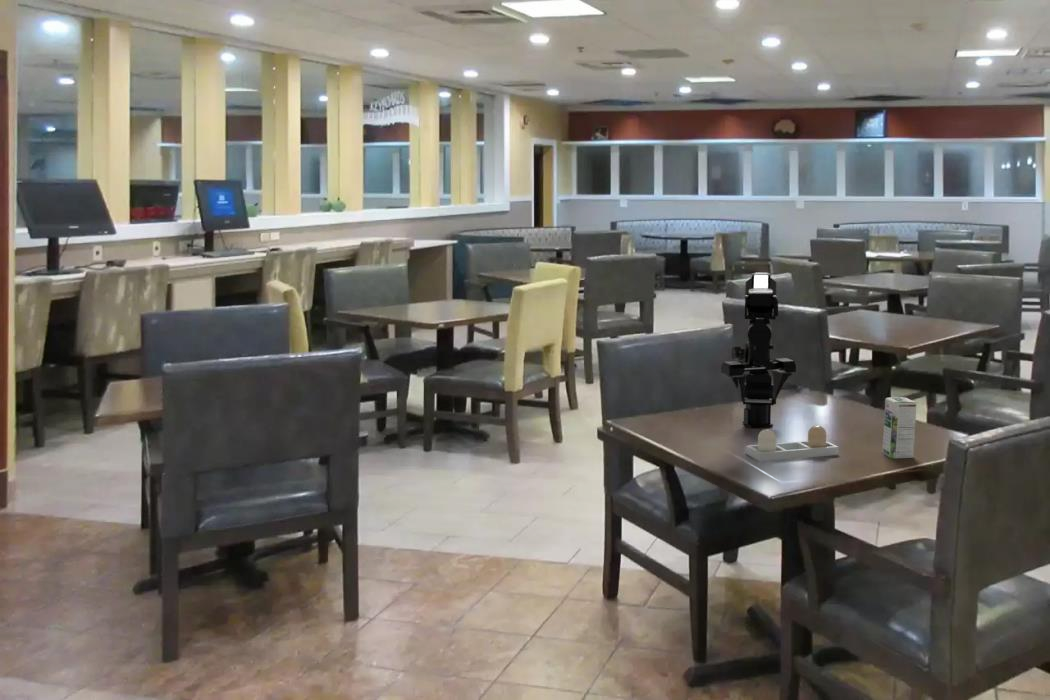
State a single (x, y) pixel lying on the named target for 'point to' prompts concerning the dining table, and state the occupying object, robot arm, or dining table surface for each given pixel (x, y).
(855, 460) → the dining table surface
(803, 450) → the divided compartment tray
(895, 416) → the syrup box
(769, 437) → the white capsule shape
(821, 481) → the dining table surface
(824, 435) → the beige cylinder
